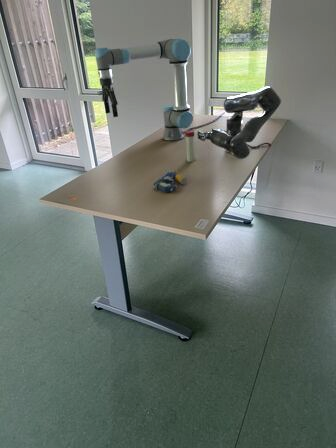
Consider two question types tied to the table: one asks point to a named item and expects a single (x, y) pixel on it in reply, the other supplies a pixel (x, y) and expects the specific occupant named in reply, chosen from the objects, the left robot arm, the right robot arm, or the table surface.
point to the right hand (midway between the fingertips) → (205, 131)
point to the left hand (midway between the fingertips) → (111, 114)
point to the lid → (189, 133)
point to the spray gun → (169, 181)
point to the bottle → (190, 148)
